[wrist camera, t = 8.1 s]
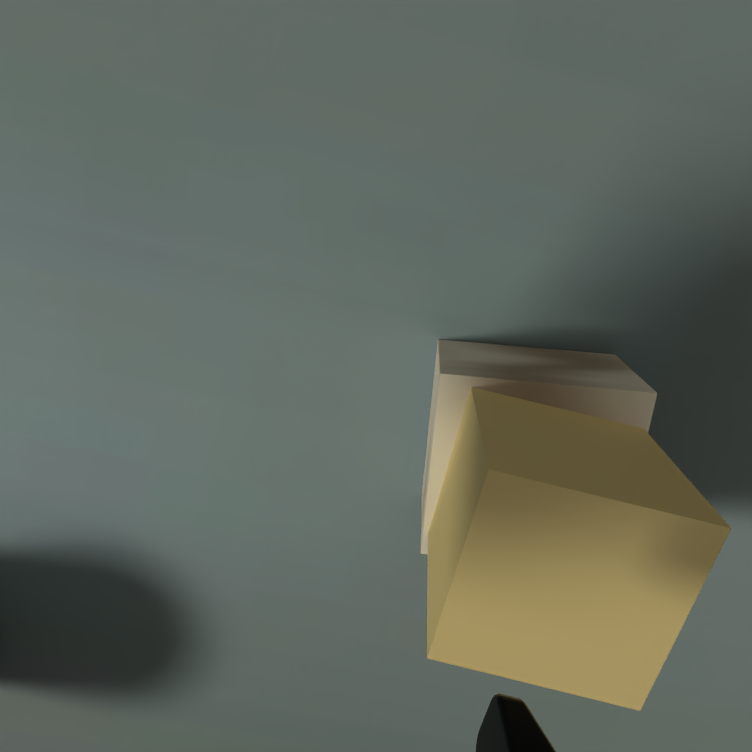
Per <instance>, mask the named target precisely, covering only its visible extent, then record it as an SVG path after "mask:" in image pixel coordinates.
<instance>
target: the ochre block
mask: <svg viewBox="0 0 752 752" xmlns="http://www.w3.org/2000/svg"><path fill="white" fill-rule="evenodd" d="M730 530H731V527H730V526H729V525H728V524H727V523H726V522H725V520H724V519H723V518H722V517H721V516H720V515H719V514H718V512H717V511H716V510H715V509H714V508H713V507H712V506H711V504H710V503H709V502H708V501H707V500H706V499H705V498H704V496H703V495H702V494H701V493H700V492H699V491H698V490H697V489H696V487H695V486H694V485H693V484H692V483H691V482H690V481H689V479H688V478H687V477H686V476H685V475H684V474H683V473H682V471H681V470H680V469H679V468H678V467H677V466H676V465H675V463H674V462H673V461H672V460H671V459H670V458H669V457H668V456H667V454H666V453H665V452H664V451H663V450H662V449H661V448H660V446H659V445H658V444H657V443H656V442H655V441H654V440H653V438H652V437H651V436H650V435H649V434H648V433H647V432H646V430H645V429H644V428H639V427H635V426H631V425H627V424H623V423H619V422H614V421H610V420H606V419H602V418H598V417H594V416H590V415H585V414H581V413H577V412H573V411H569V410H565V409H560V408H556V407H552V406H548V405H544V404H540V403H536V402H531V401H527V400H523V399H519V398H515V397H511V396H506V395H502V394H498V393H494V392H490V391H486V390H481V389H477V388H473V387H471V390H470V393H469V396H468V400H467V403H466V406H465V410H464V413H463V417H462V420H461V423H460V427H459V430H458V433H457V437H456V440H455V444H454V447H453V450H452V454H451V457H450V460H449V464H448V467H447V470H446V474H445V477H444V481H443V484H442V487H441V491H440V494H439V497H438V501H437V504H436V508H435V511H434V514H433V518H432V521H431V524H430V528H429V531H428V581H427V658H428V659H432V660H436V661H440V662H444V663H448V664H452V665H456V666H460V667H464V668H469V669H473V670H477V671H481V672H485V673H489V674H493V675H497V676H501V677H505V678H509V679H513V680H517V681H521V682H525V683H529V684H533V685H537V686H542V687H546V688H550V689H554V690H558V691H562V692H566V693H570V694H574V695H578V696H582V697H586V698H590V699H594V700H598V701H602V702H606V703H611V704H615V705H619V706H623V707H627V708H631V709H635V710H639V711H640V710H641V708H642V706H643V704H644V702H645V700H646V698H647V696H648V694H649V692H650V690H651V688H652V686H653V684H654V682H655V680H656V678H657V676H658V674H659V672H660V670H661V668H662V666H663V664H664V662H665V660H666V658H667V656H668V654H669V652H670V650H671V648H672V646H673V644H674V642H675V640H676V638H677V636H678V634H679V632H680V630H681V628H682V626H683V624H684V622H685V620H686V618H687V616H688V614H689V612H690V610H691V608H692V606H693V604H694V602H695V600H696V598H697V596H698V594H699V592H700V590H701V588H702V586H703V584H704V582H705V580H706V578H707V576H708V574H709V572H710V570H711V568H712V566H713V564H714V562H715V560H716V558H717V556H718V554H719V552H720V550H721V548H722V546H723V544H724V542H725V540H726V538H727V536H728V534H729V532H730Z"/></svg>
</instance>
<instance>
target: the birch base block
mask: <svg viewBox="0 0 752 752" xmlns="http://www.w3.org/2000/svg"><path fill="white" fill-rule="evenodd" d="M471 387H473V388H477V389H481V390H486V391H490V392H494V393H498V394H502V395H506V396H511V397H515V398H519V399H523V400H527V401H531V402H536V403H540V404H544V405H548V406H552V407H556V408H560V409H565V410H569V411H573V412H577V413H581V414H585V415H590V416H594V417H598V418H602V419H606V420H610V421H614V422H619V423H623V424H627V425H631V426H635V427H639V428H644V429H645V430H646V432H647V433H648V431H649V427H650V423H651V419H652V414H653V410H654V406H655V402H656V397H657V392H656V391H655V390H653V389H652V388H651V387H650V386H649V385H648V384H647V383H646V382H645V381H644V380H643V379H641V378H640V377H639V376H638V375H637V374H636V373H635V372H634V371H633V370H632V369H631V368H629V367H628V366H627V365H626V364H625V363H624V362H623V361H622V360H621V359H620V358H619V357H617V356H616V355H614V354H602V353H591V352H579V351H568V350H556V349H544V348H533V347H521V346H510V345H498V344H487V343H475V342H463V341H452V340H440V339H438V345H437V355H436V364H435V374H434V383H433V393H432V403H431V412H430V422H429V431H428V441H427V451H426V460H425V470H424V479H423V489H422V520H421V554H428V531H429V528H430V524H431V521H432V518H433V514H434V511H435V508H436V504H437V501H438V497H439V494H440V491H441V487H442V484H443V481H444V477H445V474H446V470H447V467H448V464H449V460H450V457H451V454H452V450H453V447H454V444H455V440H456V437H457V433H458V430H459V427H460V423H461V420H462V417H463V413H464V410H465V406H466V403H467V400H468V396H469V393H470V390H471Z"/></svg>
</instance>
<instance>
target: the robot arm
mask: <svg viewBox="0 0 752 752" xmlns="http://www.w3.org/2000/svg"><path fill="white" fill-rule="evenodd" d="M476 752H556V751H555V749H554V748H553V746H552V745H551V743H550V742H549V740H548V738H547V737H546V735H545V734H544V732H543V730H542V729H541V727H540V726H539V724H538V723H537V721H536V719H535V718H534V716H533V715H532V713H531V711H530V710H529V708H528V707H527V705H526V704H525V703H524V702H523V701H522V700H521V699H519V698H515V697H511V696H507V695H503V694H496V695H494V697H493V698H492V700H491V702H490V705H489V707H488V710H487V712H486V715H485V717H484V720H483V722H482V725H481V727H480V730H479V733H478V737H477V744H476Z"/></svg>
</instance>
